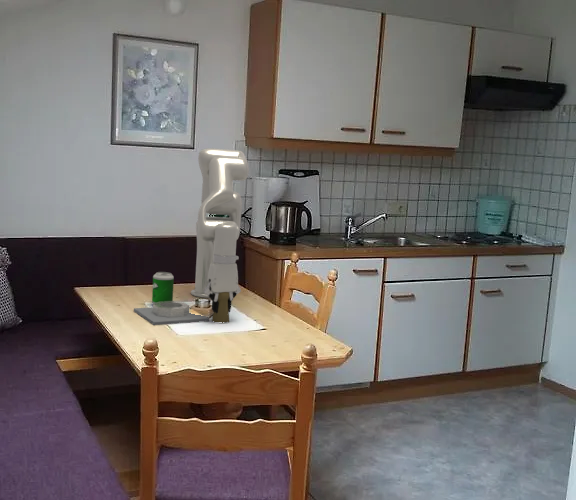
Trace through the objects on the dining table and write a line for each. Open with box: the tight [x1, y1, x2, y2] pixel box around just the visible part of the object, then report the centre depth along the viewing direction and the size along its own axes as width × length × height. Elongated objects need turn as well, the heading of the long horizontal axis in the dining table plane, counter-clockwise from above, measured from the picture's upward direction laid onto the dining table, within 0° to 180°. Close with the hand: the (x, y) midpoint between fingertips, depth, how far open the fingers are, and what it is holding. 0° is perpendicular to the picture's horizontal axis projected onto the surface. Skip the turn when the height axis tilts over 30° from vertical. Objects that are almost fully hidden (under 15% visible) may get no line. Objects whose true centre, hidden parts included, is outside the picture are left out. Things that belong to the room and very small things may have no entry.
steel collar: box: [152, 300, 190, 318], centre depth 248 cm, size 12×12×3 cm
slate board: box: [133, 306, 210, 326], centre depth 248 cm, size 20×20×1 cm
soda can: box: [151, 271, 175, 305], centre depth 263 cm, size 8×8×12 cm
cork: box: [211, 292, 230, 324], centre depth 246 cm, size 6×6×11 cm
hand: (221, 311), depth 246 cm, fingers closed on cork, 4 cm apart
